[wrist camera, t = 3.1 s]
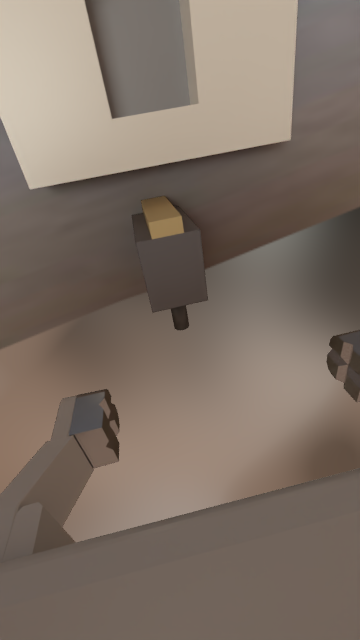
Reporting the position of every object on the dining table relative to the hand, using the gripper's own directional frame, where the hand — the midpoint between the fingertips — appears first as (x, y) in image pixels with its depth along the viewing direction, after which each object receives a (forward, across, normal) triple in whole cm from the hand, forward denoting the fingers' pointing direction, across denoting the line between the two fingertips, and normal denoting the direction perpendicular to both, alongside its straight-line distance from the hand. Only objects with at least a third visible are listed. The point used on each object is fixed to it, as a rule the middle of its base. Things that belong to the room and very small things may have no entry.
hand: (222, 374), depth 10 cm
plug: (+18, 0, 0) cm, 18 cm away
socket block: (+18, +1, +12) cm, 21 cm away
